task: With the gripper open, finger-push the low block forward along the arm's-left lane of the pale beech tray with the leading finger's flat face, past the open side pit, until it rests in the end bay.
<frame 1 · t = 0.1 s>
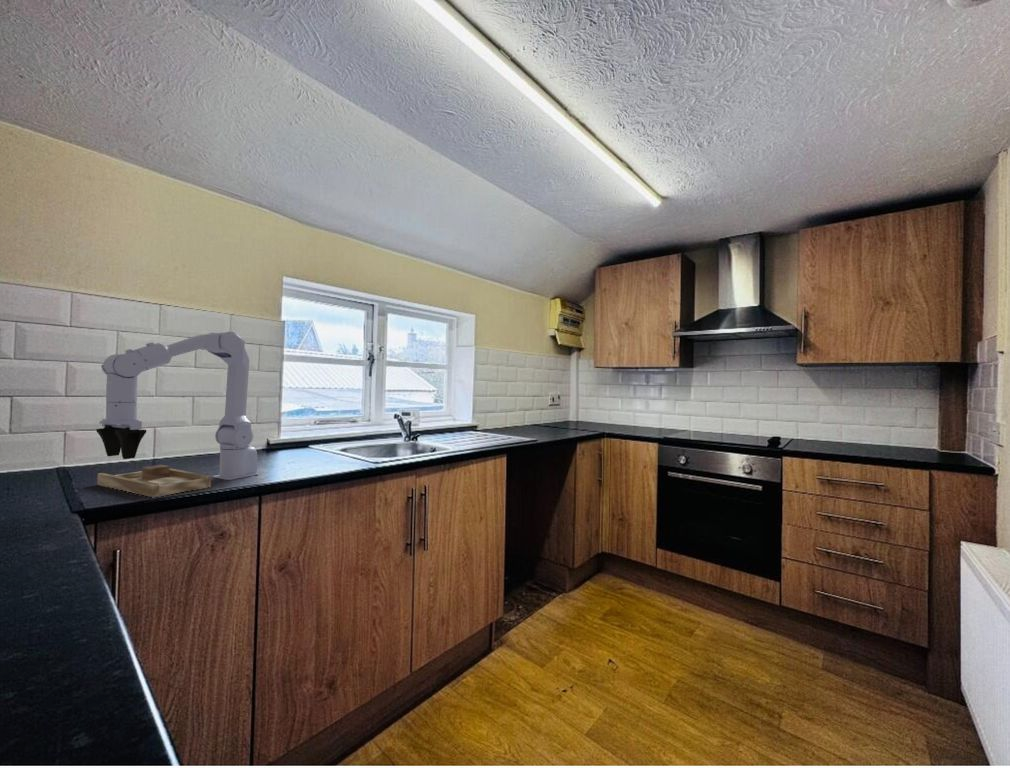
hand: (120, 457, 106), 10 cm above the countertop, tool pointing down, fingers open, 7 cm apart
block: (155, 477, 120), point 2 cm above the countertop, touching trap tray
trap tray: (154, 486, 117), on the countertop
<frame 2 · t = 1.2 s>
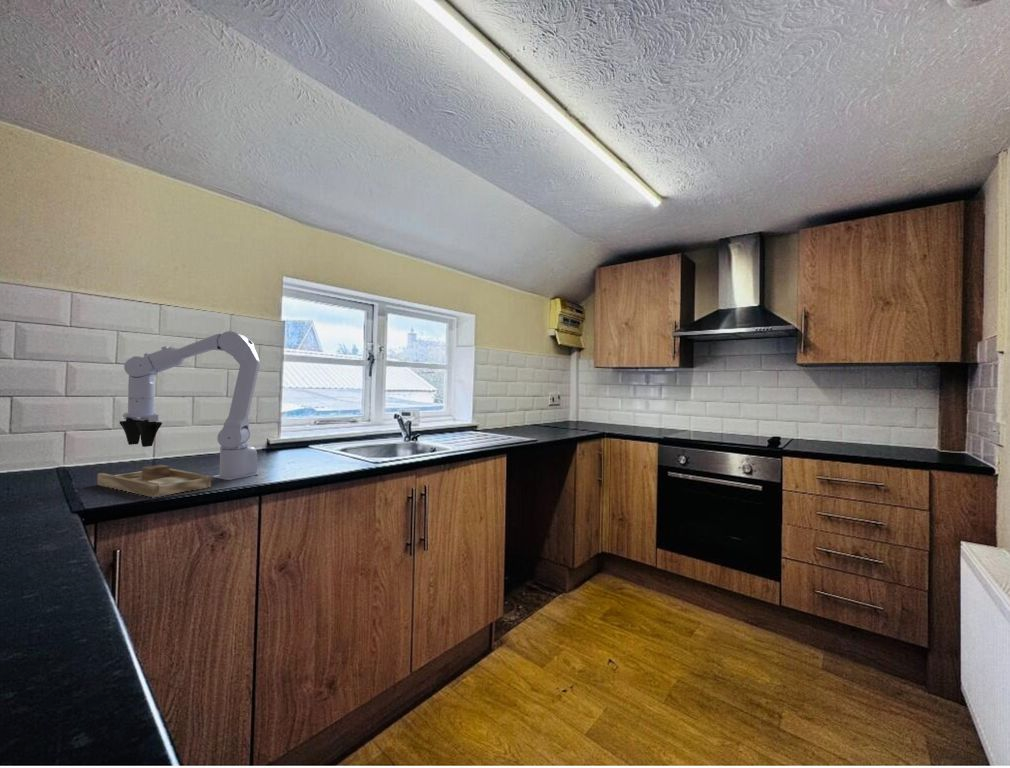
hand: (140, 445, 124), 10 cm above the countertop, tool pointing down, fingers open, 7 cm apart
nothing on the countertop moved.
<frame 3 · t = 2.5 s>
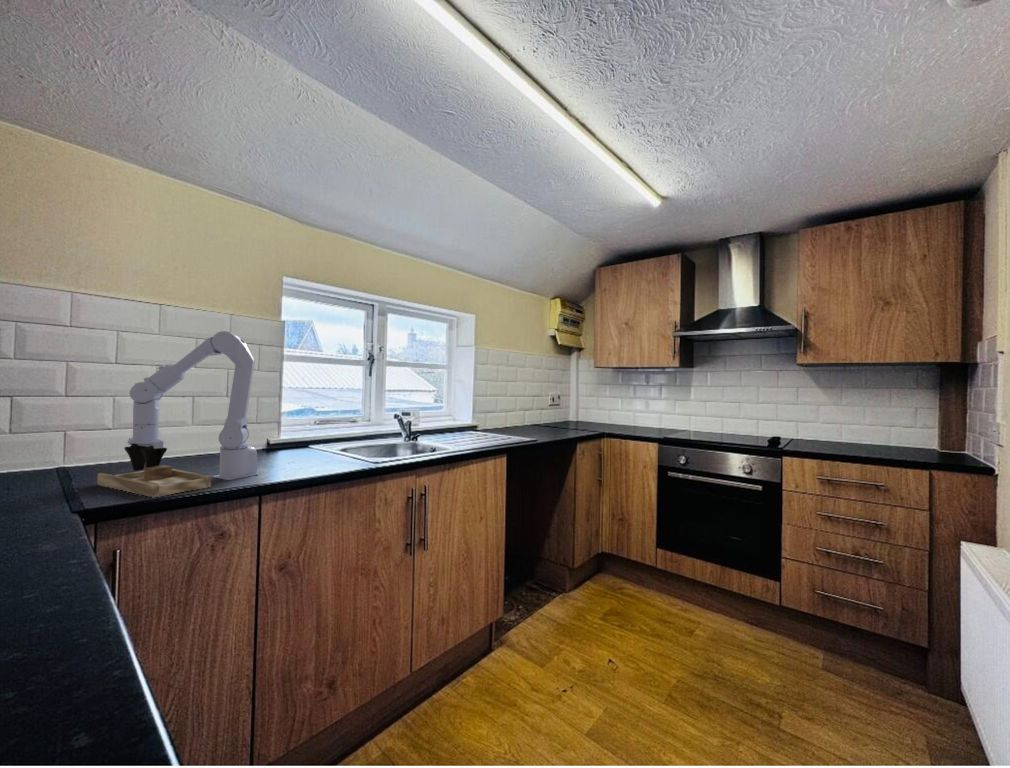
hand: (145, 471, 123), 3 cm above the countertop, tool pointing down, fingers open, 7 cm apart
block: (157, 477, 120), point 2 cm above the countertop, touching gripper
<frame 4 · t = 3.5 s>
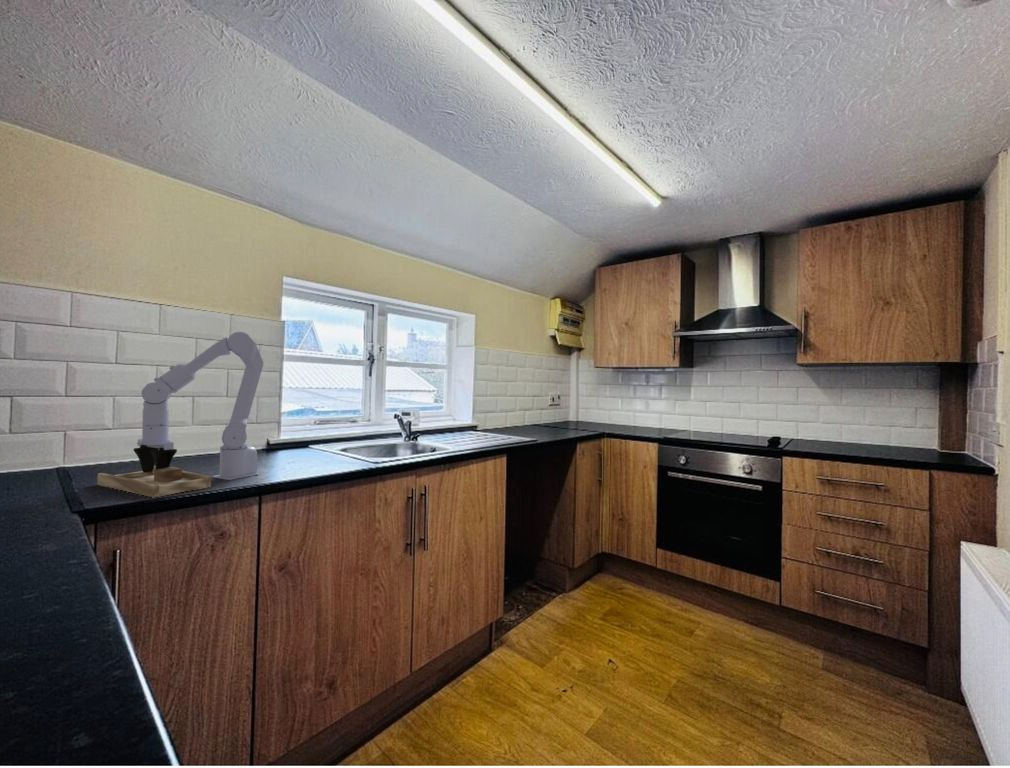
hand: (154, 473, 121), 3 cm above the countertop, tool pointing down, fingers open, 7 cm apart
block: (167, 479, 118), point 2 cm above the countertop, touching gripper, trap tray
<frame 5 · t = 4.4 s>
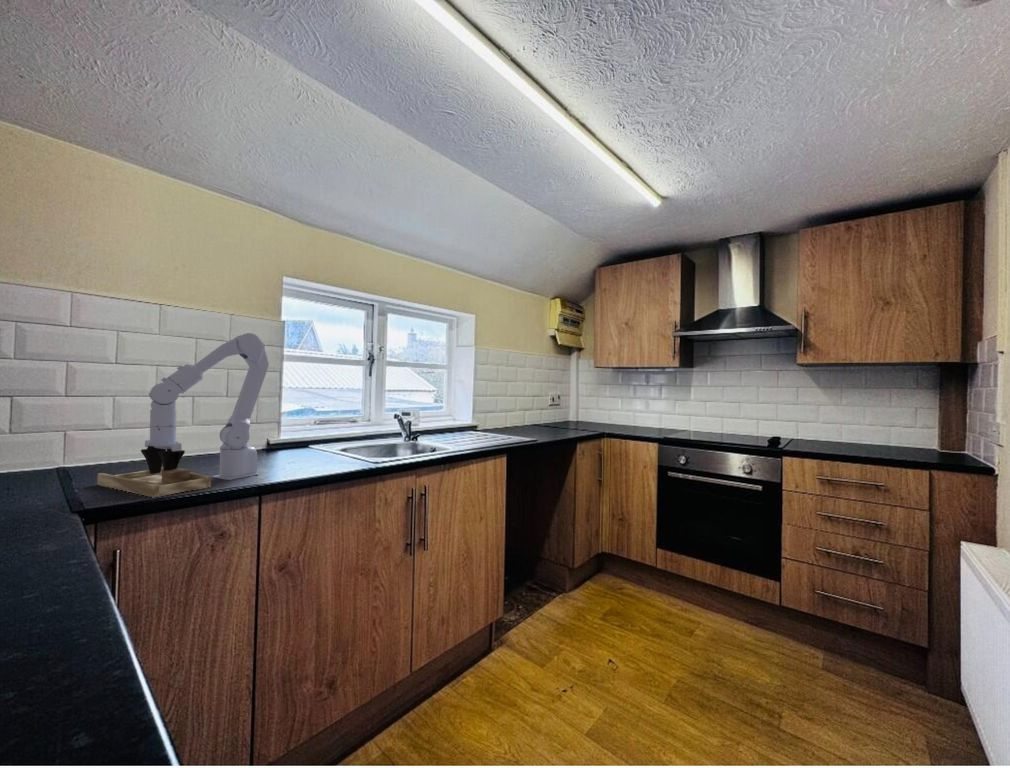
hand: (162, 474, 119), 3 cm above the countertop, tool pointing down, fingers open, 7 cm apart
block: (175, 481, 116), point 2 cm above the countertop, touching gripper
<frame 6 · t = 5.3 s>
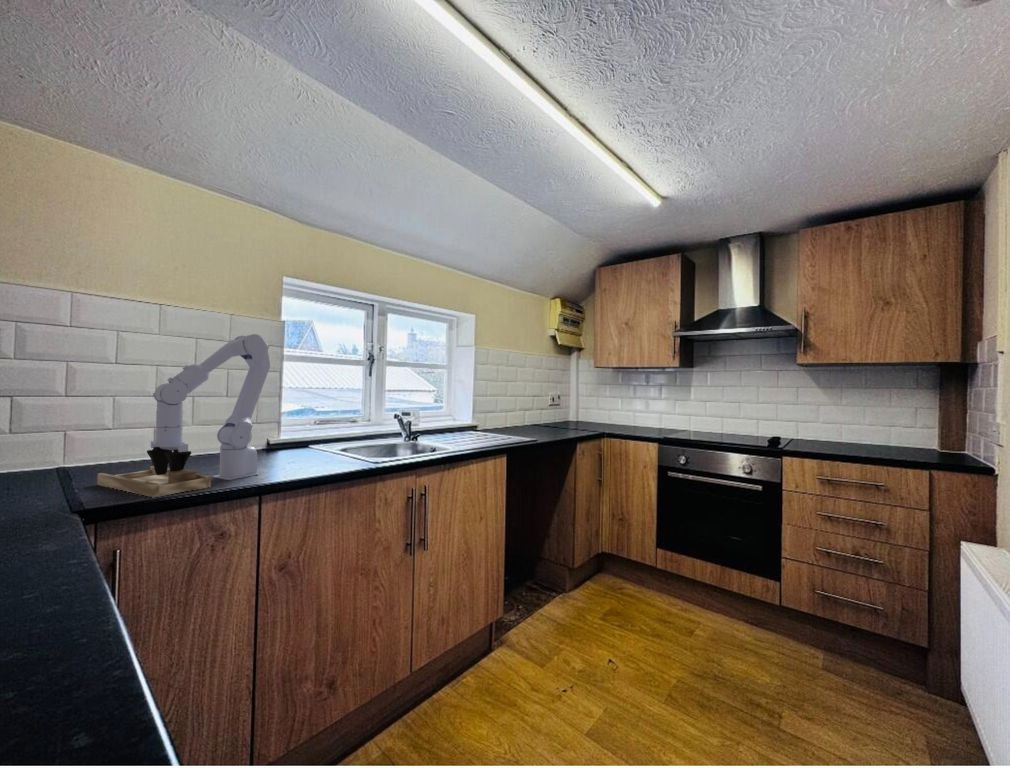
hand: (168, 476, 118), 3 cm above the countertop, tool pointing down, fingers open, 7 cm apart
block: (182, 482, 115), point 2 cm above the countertop, touching gripper, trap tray
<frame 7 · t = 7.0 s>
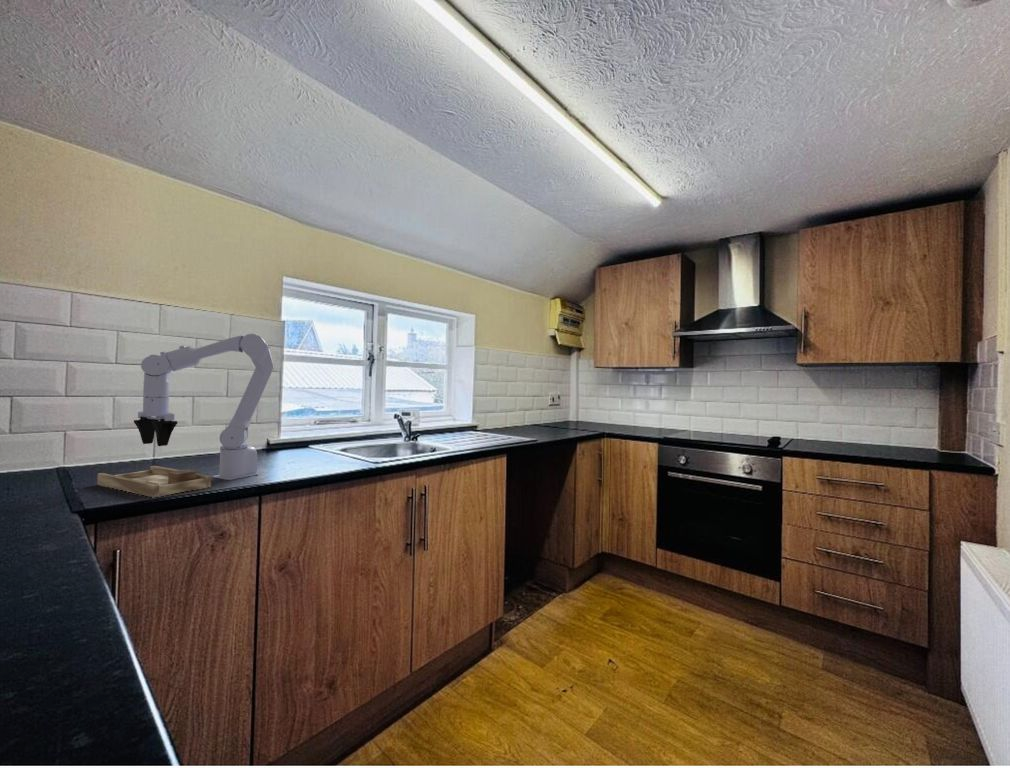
hand: (155, 444, 123), 10 cm above the countertop, tool pointing down, fingers open, 7 cm apart
block: (182, 482, 115), point 2 cm above the countertop, touching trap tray
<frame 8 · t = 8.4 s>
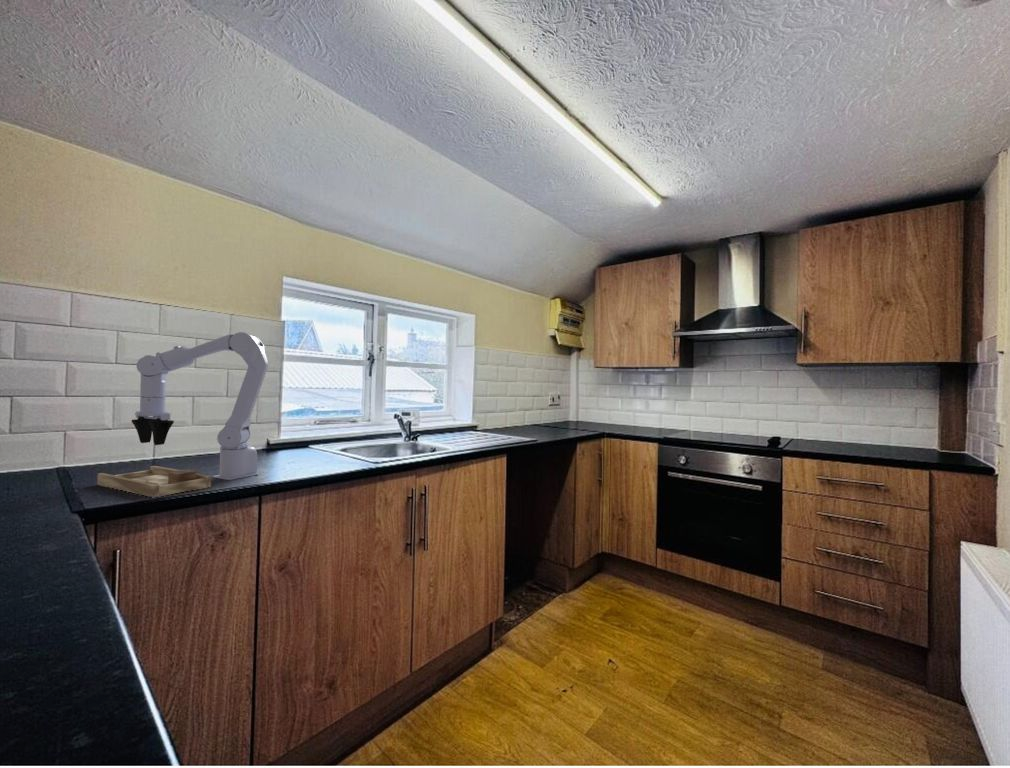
hand: (152, 443, 125), 10 cm above the countertop, tool pointing down, fingers open, 7 cm apart
nothing on the countertop moved.
at the end: block inside the target area on the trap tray (1.9 cm from its centre), point 1.6 cm above the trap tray's base; block tilted 0° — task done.
